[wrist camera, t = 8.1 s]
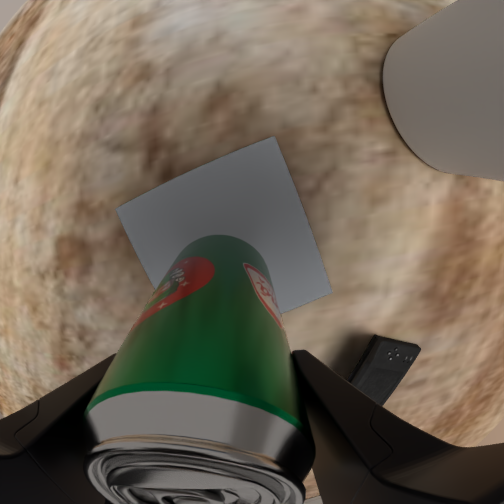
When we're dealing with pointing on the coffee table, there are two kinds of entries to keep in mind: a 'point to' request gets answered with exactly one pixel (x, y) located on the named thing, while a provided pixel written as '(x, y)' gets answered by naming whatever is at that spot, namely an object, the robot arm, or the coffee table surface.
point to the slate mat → (232, 220)
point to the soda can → (203, 392)
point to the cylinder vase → (452, 88)
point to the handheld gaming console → (383, 367)
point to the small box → (314, 500)
